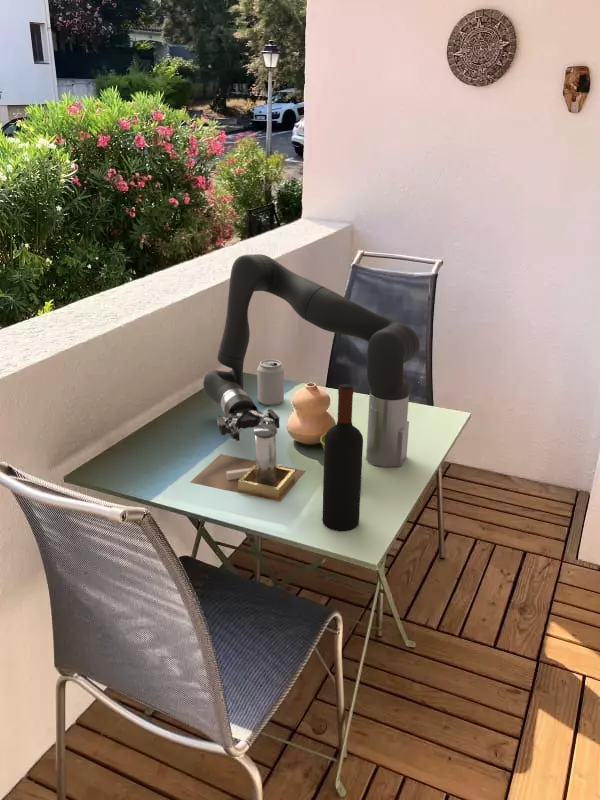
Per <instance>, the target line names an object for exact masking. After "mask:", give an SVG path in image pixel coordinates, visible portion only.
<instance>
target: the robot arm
mask: <svg viewBox="0 0 600 800" xmlns="http://www.w3.org/2000/svg"><path fill="white" fill-rule="evenodd" d="M255 292H265V293H269V294H272V295H274V296H276V297H278V298H280V299H282V300H283V301H285V302H286V303H288V304H289V305H290V306H291V308H292V309H293V310H294V311H295V313H296V314H297V315H298V316H299V317H300V318H302V320H303V319H304V320H305V321H307V322H308V323H310V324H312V325H313V326H316V327H318V328H319V329H322V330H324V331H327V332H330V333H335V334H338V335H343V336H350V337H355V338H358V339H361V340H363V341H366V342H368V344H367V350H366V351H367V353H366V378H367V383H368V385H369V399H368V417H367V435H366V436H367V437H366V454H365V455H366V456H365V459H366V461H368V463H370V464H372V465H375V466H377V467H383V468H392V467H393V468H394V467H398V468H401V467H402V465H403V463H404V462H405V461H406V458H407V455H408V442H409V428H410V427H409V426H410V421H408V415H409V414H408V413H409V412H408V411H409V403H410V402H409V401H410V400H409V399H410V389H411V388H410V386H411V385H410V383H409V381H408V380H407V379H406V378H404V364H405V363H407V362H408V361H410V360H412V359H413V358H414V357H416V356H417V354H418V353H419V350H420V339H419V338H418V334H416V333H417V332H415V330H414V329H412V327H410V326H409V325H407V324H404V323H403V322H401V321H397V320H396V319H392V318H389V317H386V316H383V315H382V314H378V313H376V312H374V311H372V310H370V309H368V308H365V307H363V305H360V304H358V303H356V302H354V301H352V300H350V299H348V298H346V297H344V296H343V295H341V294H339V293H338V292H335V291H333V290H332V289H329V288H328V287H326V286H323V285H320V284H318V283H316V282H315V281H312V280H311V279H309V278H305V277H303V276H301V275H299V274H296V273H295V272H294V271H292V270H290V269H288V268H287V267H286V266H284V265H282V264H281V263H279V261H276V260H275V259H273V258H271V257H269V256H268V255H265V254H260V253H259V254H244V255H240V256H238V257H237V258H236V259H235V260H234V262H233V264H232V266H231V269H230V278H229V287H228V297H227V308H226V310H227V311H226V318H225V324H224V329H223V333H222V338H221V342H220V345H219V349H218V353H217V360H218V363H219V364H221V365H223V366H225V367H227V368H229V369H232V371H224V370H219V369H218V370H217V369H213V370H211V371H208V372H207V373H206V374H205V376H204V378H203V383H202V384H203V389H204V392H205V393H206V395H207V397H209V398H210V399H211V400H213V401H214V402H216V403H218V404H219V405H220V406H221V409H222V413H223V414H224V415H225V417H224V416H223V415H217V416H216V417H217V418H216V419H217V428H218V431H219V433H220V435H221V436H225V435H227V434H228V435H229V436H230V437H231V438H232V439H233V440H235V441H236V442H237V441H239V442H240V431H241V430H243V429H249V428H253V429H254V427H256V426H257V425H261V424H271V425H274V426H276V427H277V429H279V428H280V417H279V416H278V414H277V413H276V412H275V411H274V409H270V408H269V409H267V412H264V413H263V412H262V411H259V409H258V406H257V405H256V404H255V402H254V401H253V400H252V398H251V397H250V395H249V394H248V393H247V392H245V390H244V361H245V357H246V355H247V351H248V346H249V344H250V336H251V335H250V332H251V331H250V324H249V313H248V311H249V306H250V302H251V299H252V297H253V296H254V295H253V294H254V293H255ZM277 433H278V432H277ZM277 433H276V434H277Z"/></svg>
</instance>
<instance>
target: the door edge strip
mask: <svg viewBox="0 0 600 800" xmlns="http://www.w3.org/2000/svg"><path fill="white" fill-rule="evenodd" d="M276 466H278V467H283V466H284V465H283V463H276ZM249 469H250V468H246V469H239V470H232V471H226V475H227V479H228V480H231V479H238V478H242V477H243V476H244V475H245V473H246V472H247V471H248V470H249ZM256 476H257V471H256Z"/></svg>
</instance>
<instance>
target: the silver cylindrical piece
mask: <svg viewBox="0 0 600 800" xmlns="http://www.w3.org/2000/svg"><path fill="white" fill-rule="evenodd" d="M276 433H278V428H277V427H276V426H274V425H271V424H268V423H266V424H261V425H257V426H256V427H253V434H254V437H255V461H256V471H257V483H259V484H264V485H269V486H273V487H276V485H277V475H276V464H277V440H276V439H277V435H276Z"/></svg>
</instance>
